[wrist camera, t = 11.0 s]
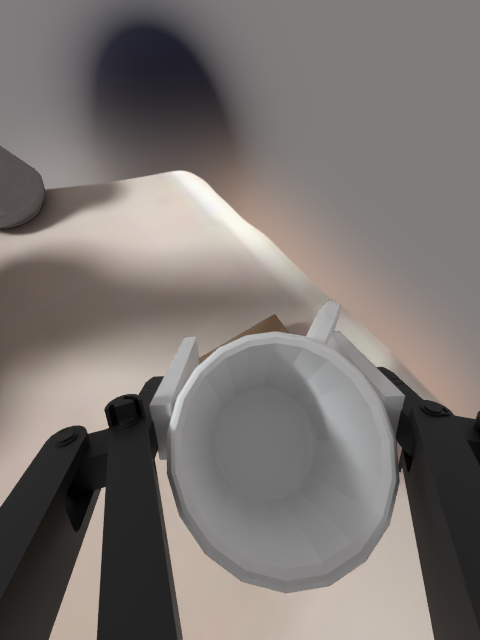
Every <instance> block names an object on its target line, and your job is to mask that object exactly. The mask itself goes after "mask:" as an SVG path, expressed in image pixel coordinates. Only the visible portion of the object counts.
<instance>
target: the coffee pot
mask: <svg viewBox="0 0 480 640" xmlns="http://www.w3.org/2000/svg"><path fill="white" fill-rule="evenodd" d="M44 192H45V188H44V184H43V181H42V177H41V175H40V174H39V173H38V172H37V171H36V170H35V169H34V168H32V167H31V166H29V165H28V164H26V163H25V162H24V161H22V160H20V159H19V158H18V157H16V156H15V155H13V154H12V153H10V152H9V151H7V150H6V149H4V148H2V147H1V146H0V228H11V227H16V226H19V225H22V224H24V223H26V222H28V221H29V220H31V219H32V218H33V217H35V216H36V215H37V213H38V212H39V211H40V209H41V207H42V204H43V198H44Z"/></svg>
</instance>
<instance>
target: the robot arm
mask: <svg viewBox="0 0 480 640" xmlns="http://www.w3.org/2000/svg"><path fill="white" fill-rule="evenodd" d="M327 346H328V347H330V348H333V349H335V350H336V351H337V352H338V353H340V354H341V355H342V356H343V357H344V358H345V359H347V360H348V361H349V362H350V363H351V364H353V365H354V366H355V367H356V368H357V369H359V370H360V371H361V372H362V374H363V375H364V376H365V378H366V379H367V381H368V382H369V384H370V385H371V386H372V388H373V389H374V391H375V392H376V393H377V395H378V396H379V398H380V399H381V401H382V402H383V405H384V407H385V410H386V413H387V416H388V418H389V421H390V424H391V426H392V429H393V432H394V435H395V437H396V440H397V442H398V443H399V444H400V446H401V447H402V451H401V456H400V460H399V465H398V468H399V472H401V468H402V467H403V473H404V478H405V484H406V489H407V494H408V500H409V505H410V510H411V516H412V521H413V527H414V532H415V537H416V543H417V548H418V553H419V559H420V564H421V570H422V575H423V580H424V586H425V591H426V596H427V602H428V607H429V613H430V618H431V623H432V629H433V634H434V639H435V640H480V411H479V412H478V414H477V417H476V419H471V418H464V417H459V416H454V415H453V413H452V412H451V411H450V410H449V409H447V408H446V407H445V406H443V405H441V404H438V403H436V402H432V401H429V400H423V399H422V398H421V397H419V396H418V395H417V394H416V393H415V392H414V391H413V390H412V389H411V388H410V387H408V386H407V385H405V383H404V382H403V381H402V380H400V379H399V377H397V376H396V375H395V374H394V373H393V372H391V371H389V370H388V369H386V368H384V367H375V366H374V365H373V364H372V363H371V362H370V361H369V360H368V359H367V358H366V357H365V356H364V355H363V354H362V353H361V352H360V351H359V350H358V349H357V348H356V347H355V346H354V345H353V344H352V343H351V342H350V341H349V340H348V339H347V338H346V337H345V336H344V335H343V334H342V333H341V332H340V331H333V334H332V336H331V338H330V340H329V342H328V345H327ZM197 366H199V356H198V347H197V337H184V339H183V341H182V343H181V345H180V347H179V349H178V351H177V353H176V355H175V357H174V359H173V360H172V362H171V364H170V366H169V368H168V370H167V372H166V374H165V376H160V377H152V378H151V379H150V380H149V381H147V382H146V383H145V385H144V387H143V388H142V390H141V391H140V393H139V395H136V394H127V395H123V396H120V397H117V398H115V399H114V400H112V401H110V402H109V403H108V404H107V405H106V407H105V414H106V418H107V421H108V425H109V428H108V429H105V430H102V431H98V432H94V433H90V434H88V433H87V430H86V429H85V427H83V426H71V427H67V428H65V429H62V430H60V431H58V432H57V433H55V434H54V435H52V436H51V437H50V438H49V439H48V440H47V441H46V442H45V444H44V445H43V447H42V448H41V450H40V451H39V453H38V454H37V455H36V457H35V458H34V460H33V461H32V463H31V464H30V466H29V467H28V468H27V470H26V471H25V473H24V474H23V476H22V477H21V478H20V480H19V481H18V483H17V484H16V486H15V487H14V489H13V490H12V491H11V493H10V494H9V496H8V497H7V499H6V500H5V502H4V503H3V504H2V506H1V507H0V640H49V637H50V634H51V631H52V628H53V625H54V622H55V620H56V617H57V614H58V611H59V608H60V605H61V602H62V600H63V597H64V594H65V591H66V588H67V585H68V582H69V579H70V577H71V574H72V571H73V568H74V565H75V562H76V559H77V557H78V554H79V551H80V548H81V545H82V542H83V539H84V537H85V534H86V531H87V528H88V525H89V522H90V519H91V516H92V514H93V511H94V508H95V505H96V502H97V499H98V496H99V494H100V491H101V488H103V487H106V492H105V509H104V527H103V544H102V561H101V578H100V596H99V613H98V630H97V640H183V637H182V631H181V625H180V618H179V612H178V605H177V599H176V592H175V586H174V580H173V573H172V567H171V560H170V554H169V547H168V541H167V535H166V528H165V522H164V515H163V509H162V502H161V496H160V490H159V483H158V477H157V470H156V464H155V460H154V459H155V456H156V454H157V451H158V453H159V458H160V460H165V459H167V431H168V428H169V424H170V421H171V417H172V414H173V410H174V407H175V403H176V399H177V397H178V395H179V394H180V392H181V390H182V389H183V387H184V386H185V384H186V382H187V381H188V379H189V378H190V376H191V374H192V373H193V371H194V370H195V368H196V367H197Z"/></svg>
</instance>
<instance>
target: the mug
mask: <svg viewBox="0 0 480 640" xmlns="http://www.w3.org/2000/svg"><path fill="white" fill-rule="evenodd" d="M339 313H340V304H339V303H337V302H334V301H332V300H329V301H328V302H326V303H325V304H324V305H323V306H322V307H321V308H320V310H319V312H318V314H317V316H316V318H315V319H314V321H313V323H312V325H311V327H310V329H309V331H308V333H307V335H306V336H302V335H295V334H289V333H283V332H276V331H275V332H267V333H260V334H252V335H246V336H244V337H241V338H239V339H237V340H235V341H233V342H230V343H228V344H226V345H224V346H222V347H219V348H218V349H217V350H216V351H215V352H213V353H212V354H211V355H210V356H209V357H208V358H207V359H205V360H204V361H203V362H202V363H201V364H200V365H199V366H197V367H196V368H195V370H194V371H193V373H192V374H191V376H190V378H189V379H188V381H187V382H186V384H185V386H184V387H183V389H182V390H181V392H180V394H179V395H178V397H177V399H176V403H175V407H174V410H173V414H172V417H171V421H170V424H169V428H168V431H167V475H168V479H169V482H170V485H171V489H172V492H173V496H174V499H175V502H176V506H177V509H178V512H179V516H180V517H181V519H182V520H183V522H184V523H185V525H186V526H187V528H188V529H189V531H190V532H191V534H192V535H193V537H194V538H195V540H196V541H197V543H198V544H199V546H200V547H201V549H202V550H203V552H204V553H205V554H206V555H207V556H208V557H210V558H211V559H212V560H214V561H215V562H216V563H218V564H219V565H220V566H222V567H223V568H224V569H226V570H227V571H228V572H230V573H231V574H232V575H234V576H235V577H236V578H238V579H239V580H240V581H242V582H245V583H249V584H252V585H256V586H260V587H264V588H268V589H271V590H275V591H279V592H283V593H291V592H297V591H303V590H309V589H315V588H321V587H327V586H330V585H332V584H333V583H335V582H336V581H338V580H339V579H341V578H342V577H344V576H345V575H346V574H348V573H349V572H351V571H352V570H354V569H355V568H357V567H358V566H360V565H361V564H363V563H364V562H365V561H366V560H367V559H368V557H369V556H370V554H371V553H372V551H373V549H374V548H375V546H376V545H377V543H378V542H379V540H380V539H381V537H382V535H383V534H384V532H385V531H386V529H387V528H388V526H389V525H390V521H391V517H392V512H393V508H394V504H395V499H396V495H397V491H398V486H399V482H400V481H399V468H398V455H397V442H396V437H395V435H394V432H393V429H392V426H391V424H390V421H389V418H388V416H387V413H386V410H385V407H384V405H383V402H382V401H381V399H380V398H379V396H378V395H377V393H376V392H375V391H374V389H373V388H372V386H371V385H370V384H369V382H368V381H367V379H366V378H365V376H364V375H363V374H362V372H361V371H360V370H359V369H357V368H356V367H355V366H354V365H353V364H351V363H350V362H349V361H348V360H347V359H345V358H344V357H343V356H342V355H341V354H340V353H338V352H337V351H336V350H335V349H333V348H330V347H328V346H327V345H328V342H329V340H330V338H331V336H332V334H333V331H334V329H335V326H336V323H337V320H338V317H339Z"/></svg>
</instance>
